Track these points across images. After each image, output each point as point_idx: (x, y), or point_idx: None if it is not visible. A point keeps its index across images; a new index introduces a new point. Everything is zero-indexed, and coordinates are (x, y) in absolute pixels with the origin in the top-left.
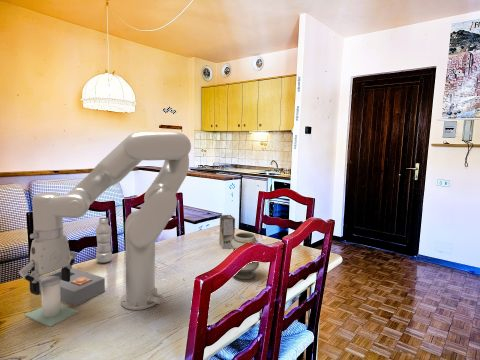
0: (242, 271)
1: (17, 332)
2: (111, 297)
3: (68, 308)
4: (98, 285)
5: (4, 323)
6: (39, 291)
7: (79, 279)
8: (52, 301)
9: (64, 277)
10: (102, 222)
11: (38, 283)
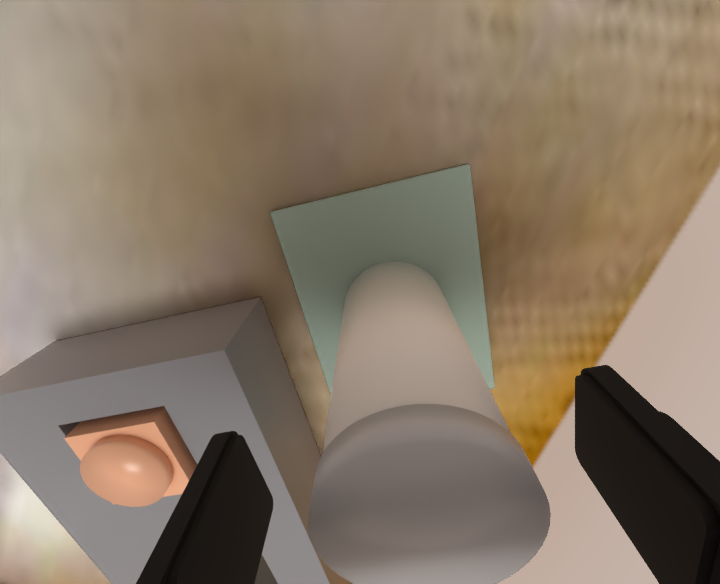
0: None
1: (602, 253)
2: (29, 233)
3: (302, 288)
4: (48, 367)
5: None
6: (597, 392)
7: (138, 478)
8: (421, 307)
9: (246, 509)
10: None
11: (712, 491)
